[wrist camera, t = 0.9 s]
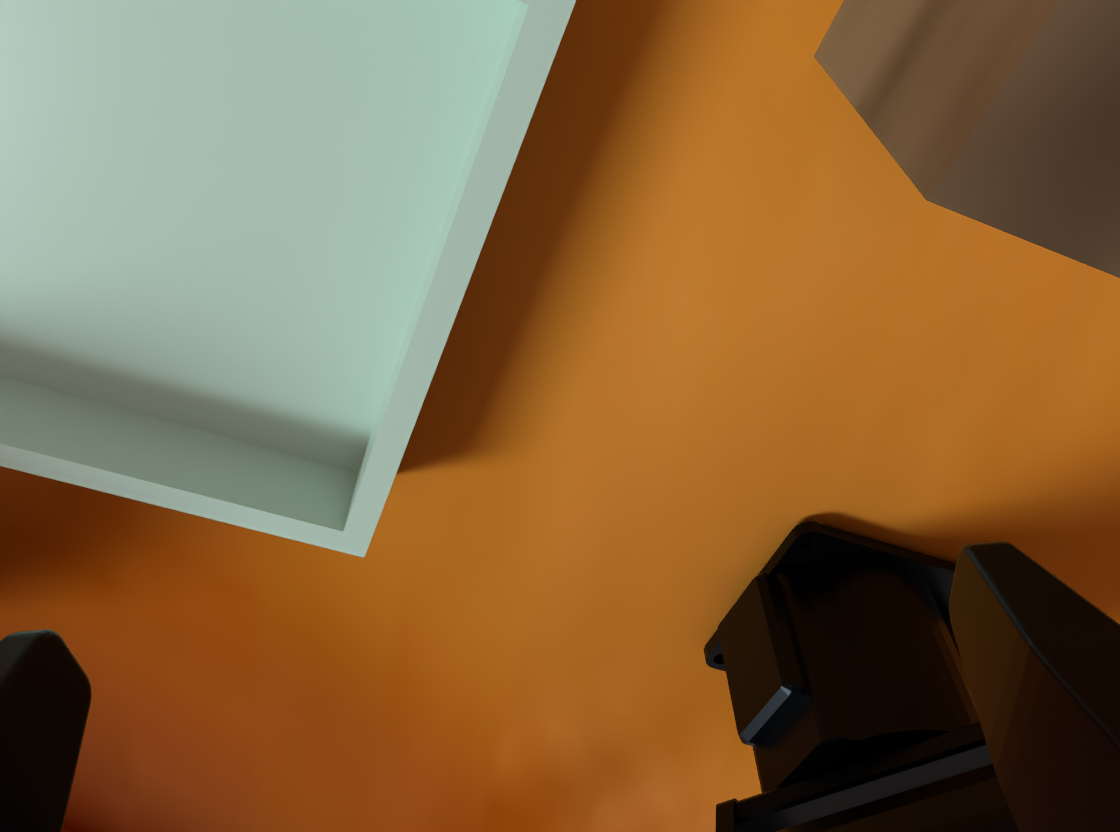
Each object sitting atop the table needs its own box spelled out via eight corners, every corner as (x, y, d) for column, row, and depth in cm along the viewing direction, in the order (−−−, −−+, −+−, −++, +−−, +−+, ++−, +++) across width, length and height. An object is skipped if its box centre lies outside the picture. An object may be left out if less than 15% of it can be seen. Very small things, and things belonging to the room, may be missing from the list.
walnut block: (1182, -101, 18) (1481, -10, 12) (1012, 141, 20) (1191, 307, 15) (961, -219, 16) (1181, -179, 11) (813, 56, 19) (926, 199, 14)
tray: (577, -58, 18) (584, -20, 15) (380, 478, 26) (364, 557, 23) (-292, -435, 14) (-458, -463, 12) (-207, 318, 22) (-296, 391, 20)
